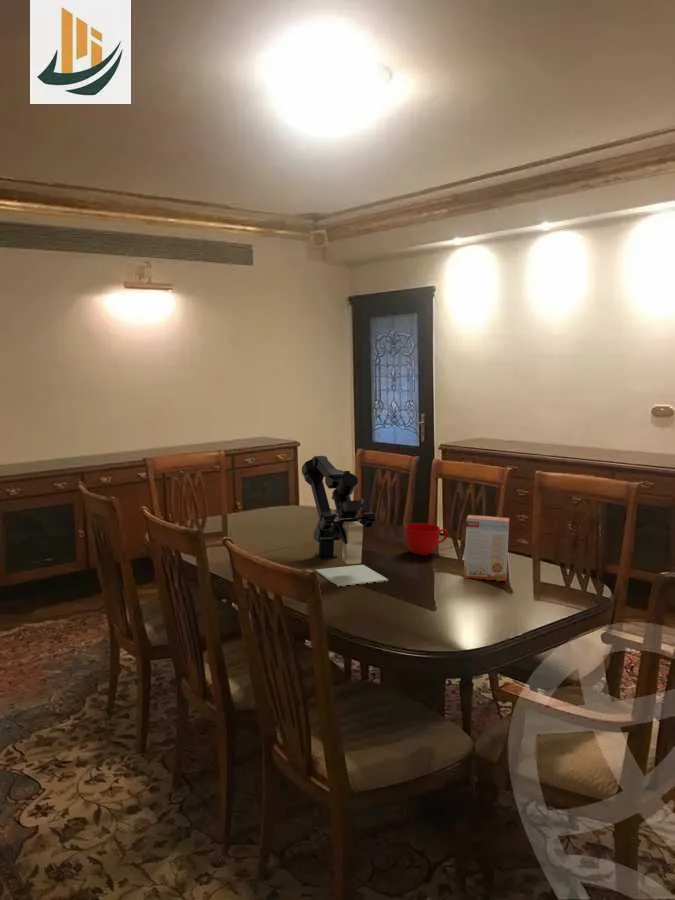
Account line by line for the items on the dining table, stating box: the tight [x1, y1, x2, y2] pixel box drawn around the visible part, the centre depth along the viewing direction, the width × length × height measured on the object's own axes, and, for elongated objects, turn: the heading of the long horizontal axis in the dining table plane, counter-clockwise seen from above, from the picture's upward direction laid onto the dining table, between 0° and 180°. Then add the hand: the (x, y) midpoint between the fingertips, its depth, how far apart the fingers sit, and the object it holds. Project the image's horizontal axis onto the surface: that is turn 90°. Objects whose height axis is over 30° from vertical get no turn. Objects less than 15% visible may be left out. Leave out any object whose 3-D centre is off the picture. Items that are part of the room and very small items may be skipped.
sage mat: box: [315, 564, 389, 588], centre depth 243 cm, size 18×18×1 cm
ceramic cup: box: [404, 522, 449, 556], centre depth 275 cm, size 13×17×10 cm
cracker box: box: [463, 514, 510, 582], centre depth 245 cm, size 14×6×21 cm, turn 74°
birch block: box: [341, 522, 364, 565], centre depth 242 cm, size 5×5×13 cm
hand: (353, 542), depth 241 cm, fingers closed on birch block, 5 cm apart
